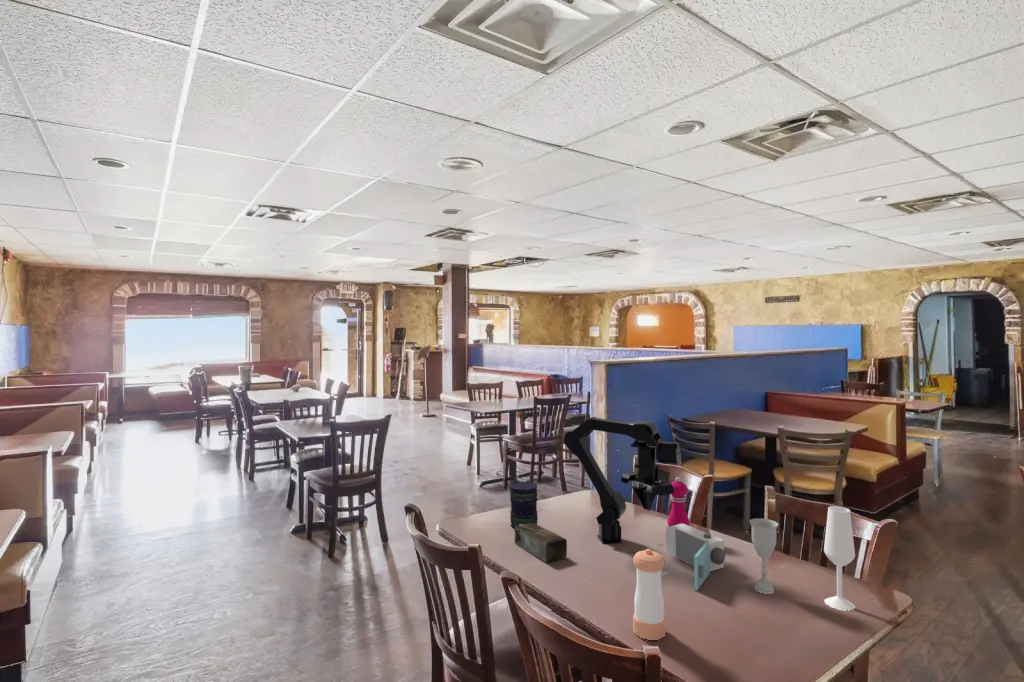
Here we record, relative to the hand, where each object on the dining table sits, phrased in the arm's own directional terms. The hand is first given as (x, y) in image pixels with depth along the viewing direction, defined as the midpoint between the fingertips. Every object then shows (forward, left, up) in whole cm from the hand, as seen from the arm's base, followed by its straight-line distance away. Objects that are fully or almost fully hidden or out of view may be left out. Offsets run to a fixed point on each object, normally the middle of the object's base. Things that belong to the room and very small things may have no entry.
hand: (647, 509), depth 173 cm
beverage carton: (-35, +3, -12) cm, 37 cm away
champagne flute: (+33, -43, -12) cm, 56 cm away
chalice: (+19, -33, -12) cm, 40 cm away
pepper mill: (+14, +7, -12) cm, 20 cm away
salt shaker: (-19, -47, -12) cm, 52 cm away
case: (+10, -12, -12) cm, 20 cm away
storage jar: (-36, +25, -12) cm, 46 cm away
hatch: (+5, -26, -12) cm, 29 cm away
